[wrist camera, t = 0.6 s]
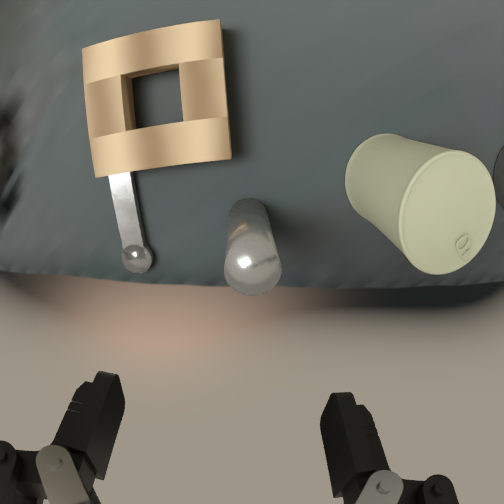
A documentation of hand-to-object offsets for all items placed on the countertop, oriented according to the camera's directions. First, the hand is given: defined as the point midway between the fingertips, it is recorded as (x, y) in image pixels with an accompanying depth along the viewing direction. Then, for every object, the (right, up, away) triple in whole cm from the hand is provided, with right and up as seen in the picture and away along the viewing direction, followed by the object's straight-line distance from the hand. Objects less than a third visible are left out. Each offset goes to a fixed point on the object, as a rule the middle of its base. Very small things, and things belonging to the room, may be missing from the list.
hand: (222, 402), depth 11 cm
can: (+14, +13, +18) cm, 27 cm away
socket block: (-7, +19, +14) cm, 25 cm away
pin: (+1, +9, +19) cm, 21 cm away
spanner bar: (-11, +9, +19) cm, 23 cm away
